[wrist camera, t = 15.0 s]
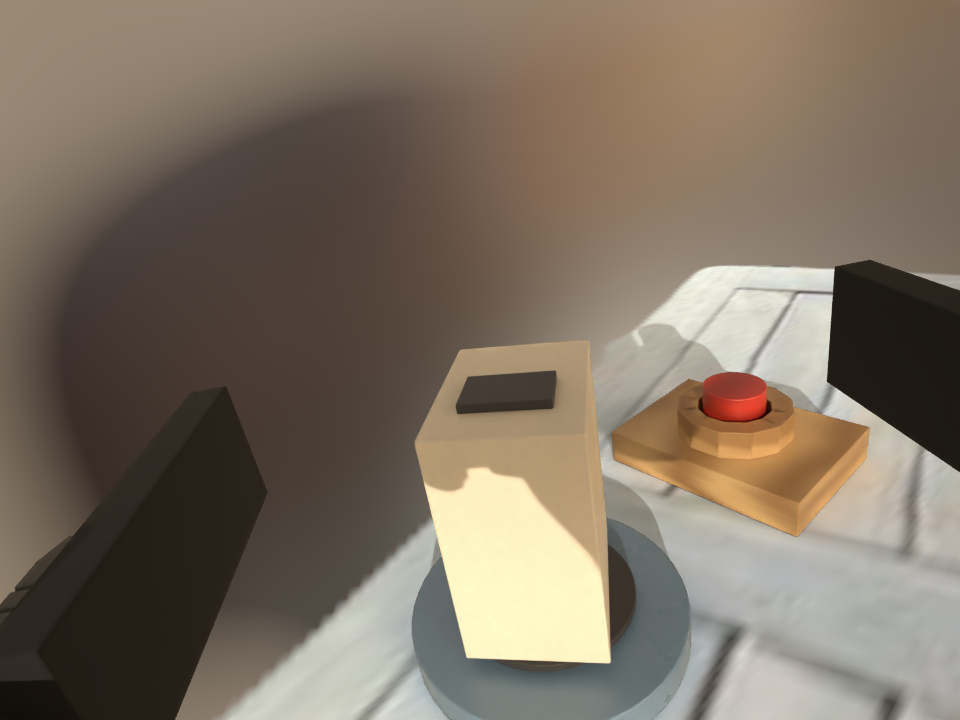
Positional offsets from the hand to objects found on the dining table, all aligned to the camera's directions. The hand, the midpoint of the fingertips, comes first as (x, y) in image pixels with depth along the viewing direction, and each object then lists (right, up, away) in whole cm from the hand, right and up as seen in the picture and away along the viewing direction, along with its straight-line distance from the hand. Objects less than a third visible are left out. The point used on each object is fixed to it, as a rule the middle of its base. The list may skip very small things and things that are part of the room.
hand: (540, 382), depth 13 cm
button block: (+15, -6, +25) cm, 30 cm away
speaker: (+2, -11, +15) cm, 19 cm away
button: (+14, -3, +24) cm, 28 cm away
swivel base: (+2, -12, +16) cm, 20 cm away
